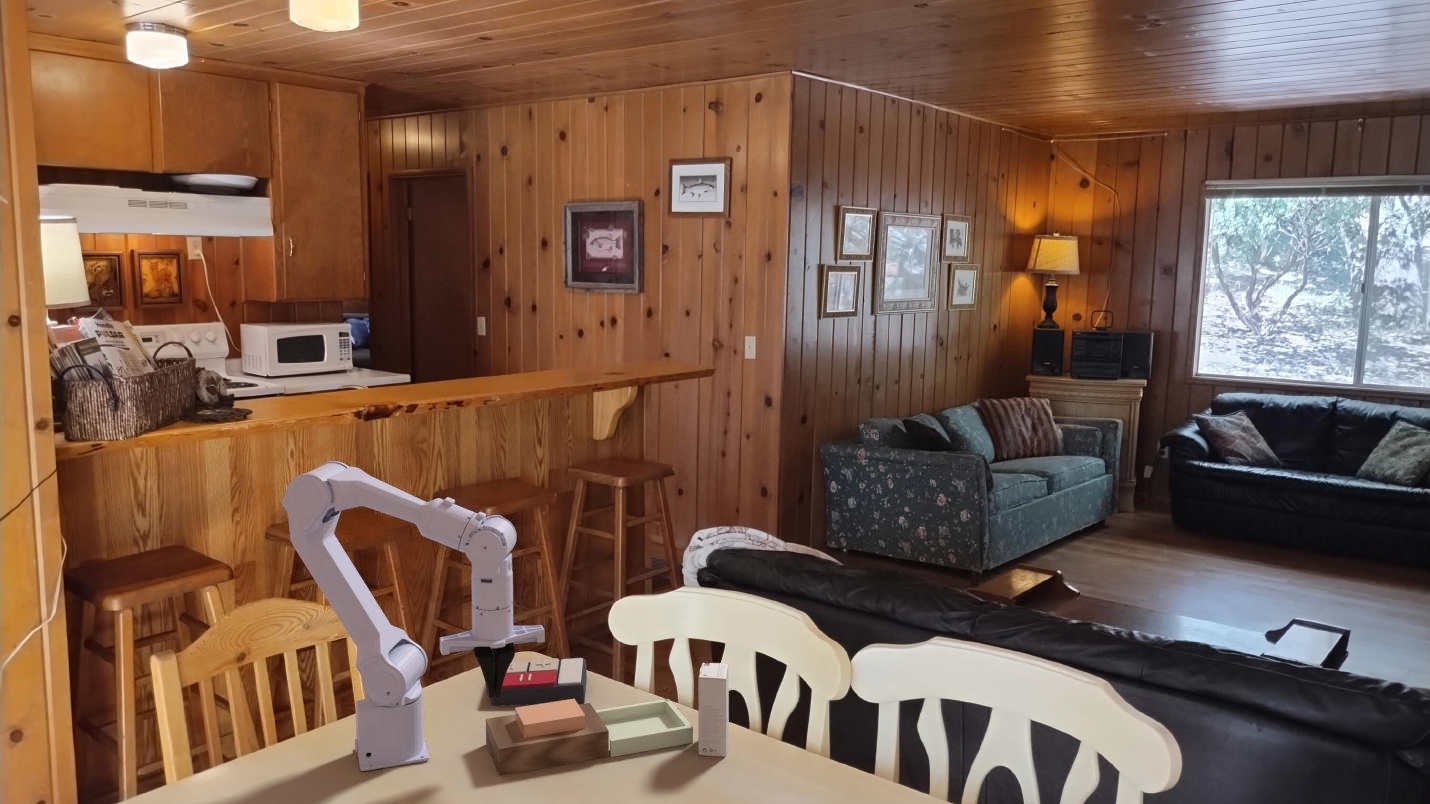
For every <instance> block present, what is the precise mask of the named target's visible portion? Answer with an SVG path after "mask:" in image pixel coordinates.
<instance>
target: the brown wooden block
mask: <svg viewBox="0 0 1430 804" xmlns="http://www.w3.org/2000/svg"><path fill="white" fill-rule="evenodd" d="M578 705H579V707H580V708H581V710H582V711H583V713H584V714H585V728H583V729H577V730H571V731H565V732H559V733H552V734H546V735H540V736H534V737H528V738H524V737H523V735H522V733H521V731H520V729H519V727H518V725H517V723H516V721H515V713H514V714H510V715H503V716H496V717H489V718H485V744H486V745H485V746H486V747H487V749H488V753H489V754H490V757H491V760H492V762H493V764H494V766H495V769H496V772H497V774H498V776H505V775H511V774H515V773H523V772H529V771H534V770H539V769H545V768H550V767H551V768H552V767H556V766H563V765H567V764H573V763H579V762H586V761H591V760H595V759H601V758H608V757H609V756H610V754H609V730H608V729H607V727H606V726H605V724H604V723H603V721H602V720H601V718H600V717H599V716H598V714H597V713H596V711H595V708H594V707H593V705H592V703H591V702H588V703H587V702H586V703H584V704H578Z"/></svg>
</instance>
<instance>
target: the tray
mask: <svg viewBox="0 0 1430 804" xmlns="http://www.w3.org/2000/svg"><path fill="white" fill-rule="evenodd" d="M594 710H595V709H594ZM595 711H596V713H597V714H598V716H599V717H600V718H601V720H602V721H603V723H604V724H605V726H606V727H607V729H608V730H609V756H610V758H614V757H618V756H624V755H631V754H636V753H637V754H638V753H643V752H647V751H654V750H659V749H664V748H671V747H676V746H682V745H688V744H693V743H694V726H693V725H692V724H691V723H690V722H689V720H688V719H687V718H686V717H685V716H684V715H683V714H682V712H681V711H680V710H679V709H678V707H676V705H675V704H674V703H673V702H672V701H671V700H670V698H667V699H666V698H665V699H657V700H652V701H645V702H639V703H634V704H627V705H621V706H614V707H608V708H607V707H606V708H602V709H596V710H595Z"/></svg>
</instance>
